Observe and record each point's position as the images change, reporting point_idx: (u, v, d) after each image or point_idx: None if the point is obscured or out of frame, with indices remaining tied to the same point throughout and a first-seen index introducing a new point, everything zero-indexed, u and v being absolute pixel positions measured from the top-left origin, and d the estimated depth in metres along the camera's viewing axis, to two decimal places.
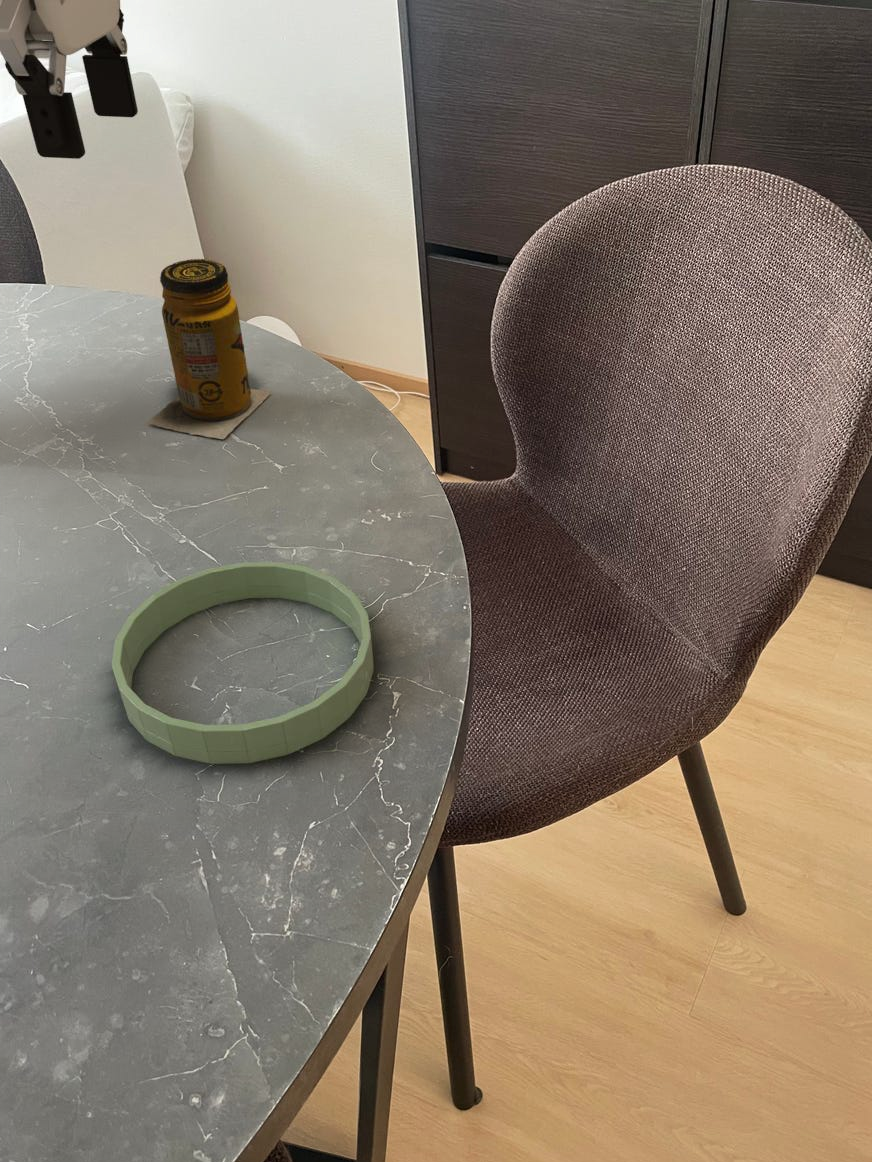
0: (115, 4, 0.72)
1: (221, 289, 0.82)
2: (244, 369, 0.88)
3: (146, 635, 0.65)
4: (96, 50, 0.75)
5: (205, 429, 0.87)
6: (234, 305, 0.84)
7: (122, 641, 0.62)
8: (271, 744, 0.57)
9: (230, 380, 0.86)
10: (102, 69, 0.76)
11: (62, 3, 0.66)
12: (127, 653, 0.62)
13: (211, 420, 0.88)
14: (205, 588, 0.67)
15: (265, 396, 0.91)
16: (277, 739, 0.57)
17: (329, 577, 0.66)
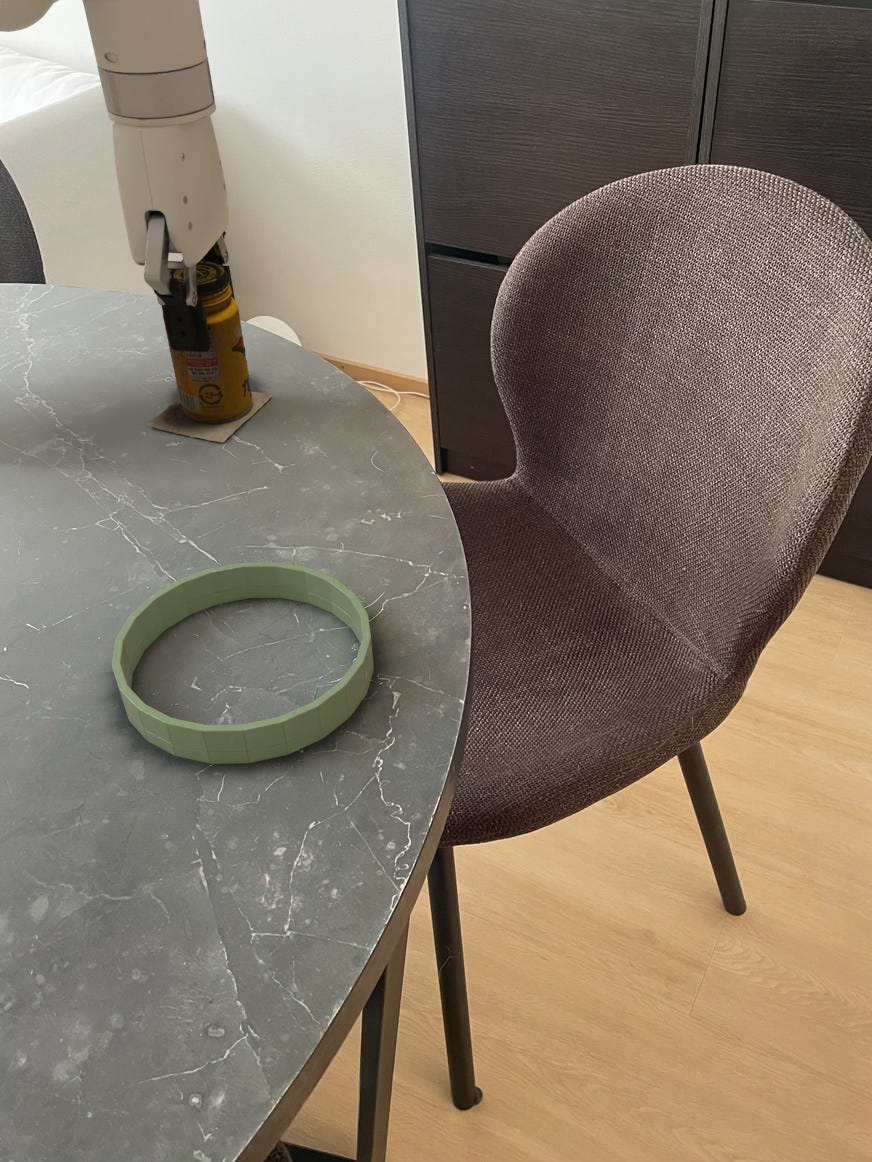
0: (226, 210, 0.82)
1: (222, 292, 0.82)
2: (245, 372, 0.87)
3: (146, 635, 0.65)
4: (202, 258, 0.85)
5: (205, 432, 0.87)
6: (235, 308, 0.84)
7: (122, 641, 0.62)
8: (271, 744, 0.57)
9: (230, 383, 0.86)
10: None
11: (190, 228, 0.76)
12: (127, 653, 0.62)
13: (211, 422, 0.88)
14: (205, 588, 0.67)
15: (267, 399, 0.91)
16: (277, 739, 0.57)
17: (329, 577, 0.66)
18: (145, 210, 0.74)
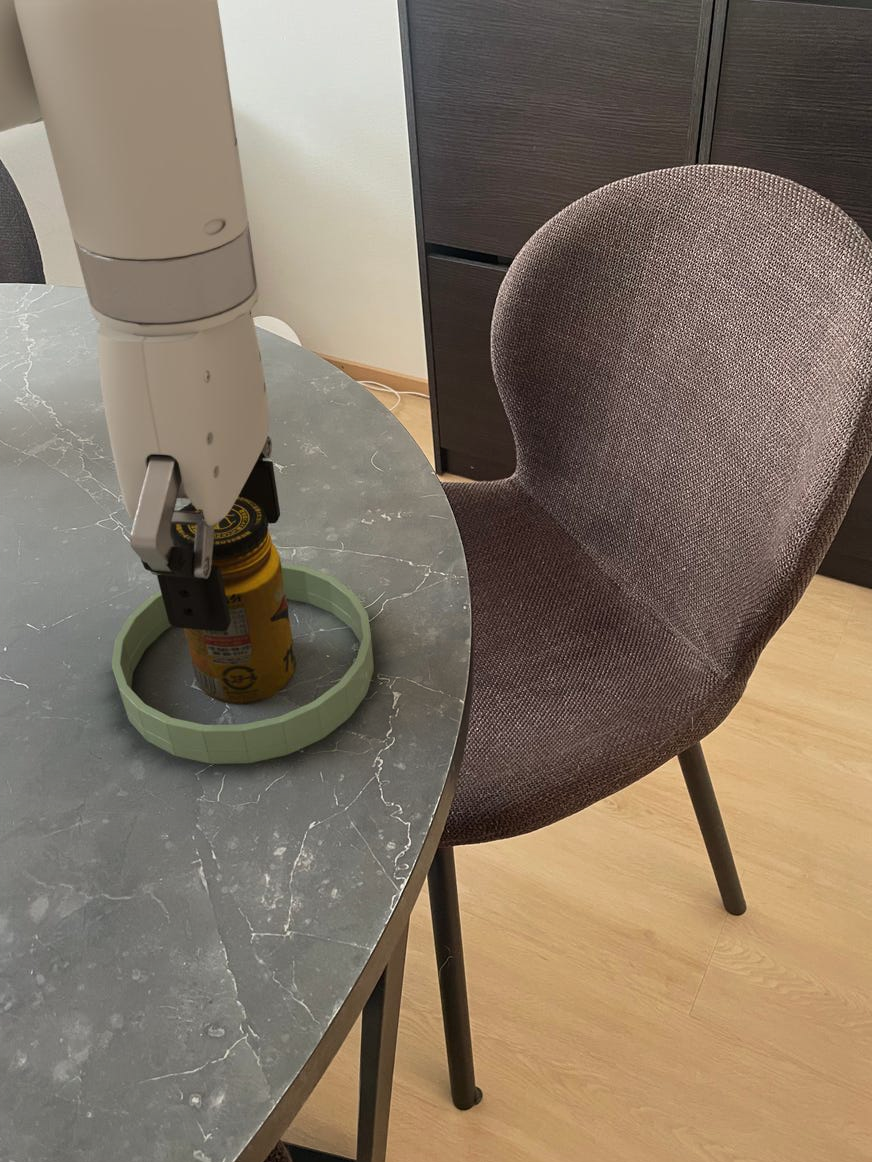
0: (266, 418, 0.56)
1: (259, 548, 0.56)
2: (288, 640, 0.61)
3: (146, 635, 0.65)
4: None
5: None
6: (276, 563, 0.58)
7: (122, 641, 0.62)
8: (271, 744, 0.57)
9: (268, 661, 0.60)
10: None
11: (216, 475, 0.49)
12: (127, 653, 0.62)
13: None
14: None
15: None
16: (277, 739, 0.57)
17: (329, 577, 0.66)
18: (147, 453, 0.48)
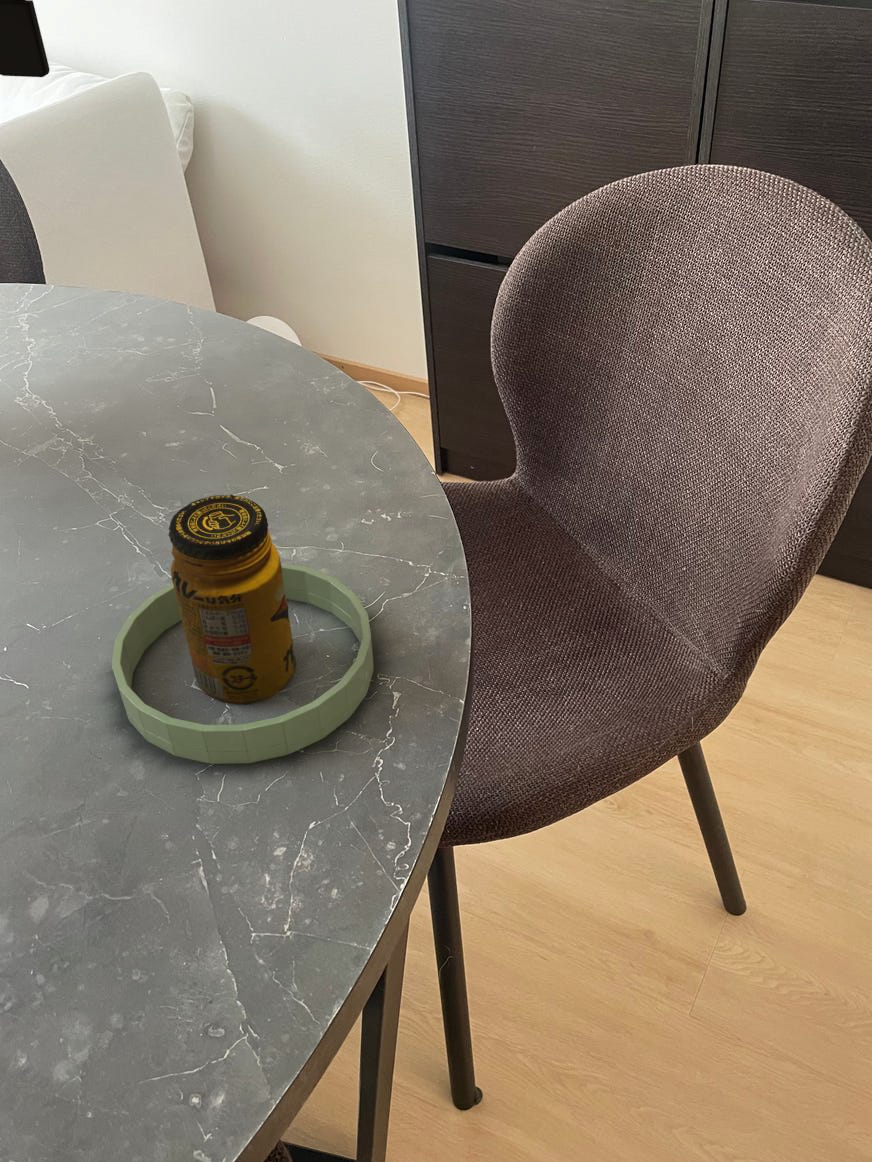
0: None
1: (259, 548, 0.56)
2: (288, 640, 0.61)
3: (146, 635, 0.65)
4: None
5: None
6: (276, 563, 0.58)
7: (122, 641, 0.62)
8: (271, 744, 0.57)
9: (268, 661, 0.60)
10: (2, 16, 0.62)
11: None
12: (127, 653, 0.62)
13: None
14: None
15: None
16: (277, 739, 0.57)
17: (329, 577, 0.66)
18: None
